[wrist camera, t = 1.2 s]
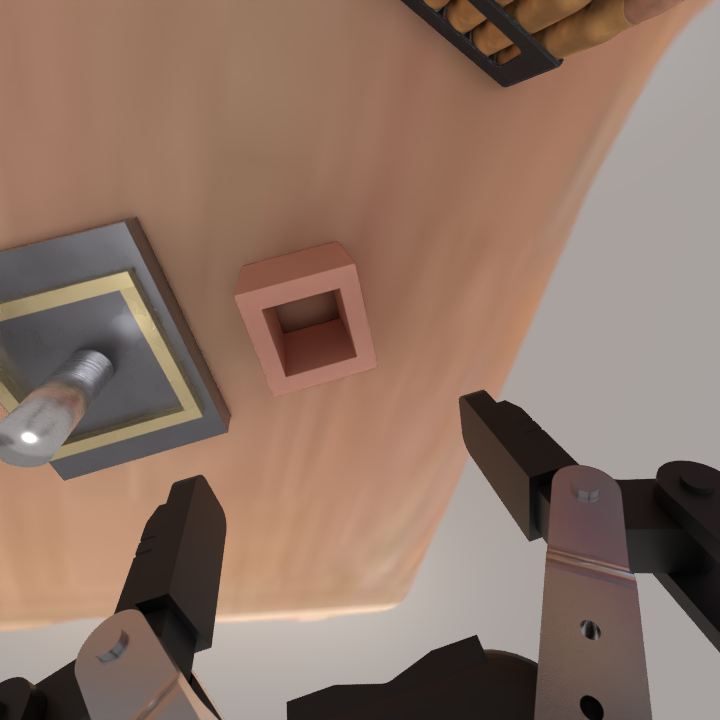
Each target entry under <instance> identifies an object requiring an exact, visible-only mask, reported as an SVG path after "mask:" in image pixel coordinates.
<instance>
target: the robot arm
mask: <svg viewBox="0 0 720 720" xmlns="http://www.w3.org/2000/svg"><path fill="white" fill-rule="evenodd" d="M459 407H460V416H461V425H462V434H463V439H464V442H465V445H466V448H467V450H468V452H469V453H470V455H471V457H472V458H473V459H474V461H475V462H476V464H477V465H478V467H479V468H480V469H481V471H482V473H483V474H484V476H485V477H486V479H487V480H488V482H489V483H490V484H491V486H492V487H493V489H494V490H495V492H496V493H497V495H498V496H499V498H500V499H501V501H502V502H503V504H504V505H505V507H506V508H507V509H508V511H509V512H510V514H511V515H512V517H513V518H514V520H515V521H516V523H517V524H518V526H519V527H520V529H521V530H522V532H523V533H524V535H525V536H526V538H527V539H528V540H529V541H532V540H535V539H538V538H541V537H543V539H544V540H545V542H546V543H547V544H548V546H547V553H546V564H545V578H544V592H543V605H542V619H541V633H540V646H539V660H538V663H536V662H534V661H532V660H530V659H528V658H525V657H523V656H520V655H518V654H514V653H510V652H506V651H501V650H492V649H490V650H483V648H482V646H481V644H480V641H479V639H478V636H477V635H475V636H472V637H469V638H466V639H463V640H461V641H458V642H455V643H452V644H449V645H446V646H444V647H441V648H438V649H435V650H432V651H430V652H429V653H428V654H426V655H425V656H424V657H423V658H421V659H420V660H419V661H417V662H416V663H414V664H413V665H412V666H411V667H409V668H408V669H406V670H405V671H404V672H402V673H401V674H399V675H398V676H397V677H395V678H394V679H393V680H391V681H390V682H388V683H384V684H355V685H333V686H331V687H328V688H325V689H322V690H319V691H316V692H313V693H311V694H308V695H305V696H302V697H299V698H297V699H294V700H291V701H288V702H287V720H652V712H651V703H650V694H649V685H648V677H647V668H646V659H645V651H644V642H643V633H642V625H641V616H640V607H639V598H638V590H637V583H636V578H635V575H634V573H653V575H654V576H655V577H656V578H657V579H658V580H659V582H660V583H661V584H662V585H663V586H664V588H665V589H666V590H667V591H668V592H669V593H670V595H671V596H672V597H673V598H674V599H675V601H676V602H677V603H678V604H679V605H680V606H681V608H682V609H683V610H684V611H685V612H686V613H687V615H688V616H689V617H690V618H691V619H692V621H693V622H695V624H696V625H697V626H698V628H699V629H700V630H701V631H702V632H703V633H704V635H705V636H706V637H707V638H708V639H709V641H710V642H712V644H713V645H714V646H715V647H716V649H717V650H718V651H719V652H720V471H718V470H716V469H714V468H712V467H709V466H707V465H704V464H701V463H696V462H691V461H673V462H668V463H665V464H664V465H662V466H661V467H660V468H659V469H658V472H657V475H656V479H634V480H616V479H613V478H612V477H611V476H609V475H608V474H606V473H605V472H603V471H601V470H599V469H596V468H593V467H589V466H583V465H579V464H578V463H577V462H576V461H575V460H574V459H573V458H572V457H571V456H570V455H569V454H568V453H567V452H566V451H565V450H563V448H562V447H561V446H559V445H558V444H557V443H556V442H555V441H554V440H553V439H552V438H551V437H550V436H549V435H548V434H547V433H546V432H545V431H544V430H542V429H541V427H540V426H539V425H538V424H537V423H536V422H535V421H533V420H532V418H531V417H530V416H529V415H528V414H527V413H526V412H525V411H524V410H523V409H522V408H520V407H518V406H516V405H514V404H512V403H510V402H507V401H506V400H505V401H502V402H498V403H496V401H495V400H494V399H493V398H492V397H491V396H490V395H489V394H488V393H487V392H486V391H485V390H480V391H477V392H474V393H470V394H467V395H464V396H461V397H460V398H459ZM225 537H226V518H225V514H224V511H223V509H222V507H221V505H220V503H219V501H218V500H217V498H216V496H215V494H214V493H213V491H212V489H211V487H210V486H209V484H208V482H207V480H206V479H205V477H204V476H203V475H197V476H194V477H191V478H187V479H184V480H181V481H177V482H175V483H174V484H173V485H172V487H171V490H170V494H169V497H168V500H167V503H166V504H163V505H160V506H158V508H157V509H156V510H155V512H154V513H153V515H152V516H151V517H150V519H149V520H148V521H147V523H146V525H145V528H144V531H143V534H142V537H141V543H139V545H138V548H137V551H136V554H135V555H136V557H135V558H134V559H133V562H132V565H131V568H130V571H129V573H128V576H127V579H126V582H125V585H124V588H123V590H122V593H121V596H120V599H119V602H118V604H117V607H116V610H115V613H114V615H112V616H111V617H109V618H108V619H106V620H105V621H104V622H102V623H101V624H100V625H99V626H98V627H97V628H96V629H95V630H94V631H93V632H92V633H91V634H90V636H89V637H88V638H87V640H86V641H85V643H84V644H83V646H82V647H81V649H80V651H79V653H78V656H77V659H75V660H74V661H72V662H71V663H69V664H67V665H66V666H64V667H63V668H61V669H60V670H58V671H56V672H55V673H53V674H52V675H50V676H48V677H47V678H45V679H44V680H42V681H41V682H39V683H37V684H36V685H33V684H32V683H30V682H29V681H28V680H26V679H24V678H22V677H15V678H11V679H8V680H5V681H3V682H1V683H0V720H225V719H224V718H223V716H222V715H221V713H220V711H219V710H218V708H217V707H216V705H215V704H214V702H213V700H212V699H211V697H210V696H209V694H208V693H207V691H206V690H205V688H204V687H203V685H202V683H201V682H200V681H199V679H198V677H197V676H196V674H195V673H194V672H193V670H192V664H193V659H194V653H196V652H199V651H202V650H205V649H208V648H211V646H212V638H213V630H214V623H215V615H216V607H217V599H218V591H219V584H220V576H221V568H222V560H223V553H224V545H225Z"/></svg>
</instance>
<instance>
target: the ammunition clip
mask: <svg viewBox="0 0 720 720" xmlns="http://www.w3.org/2000/svg"><path fill="white" fill-rule="evenodd" d="M401 1H402V2H404V3H405V4H406V5H407V6H408V7H409V8H411V9H412V10H413V11H414V12H415V13H416V14H418V15H419V16H420V17H421V18H422V19H424V20H425V21H426V22H427V23H428V24H429V25H431V26H432V27H433V28H434V29H435V30H436V31H438V32H439V33H440V34H441V35H442V36H444V37H445V38H446V39H447V40H448V41H449V42H451V43H452V44H453V45H454V46H455V47H456V48H458V49H459V50H460V51H461V52H462V53H464V54H465V55H466V56H467V57H468V58H469V59H471V60H472V61H473V62H474V63H475V64H476V65H478V66H479V67H480V68H481V69H482V70H484V71H485V72H486V73H487V74H488V75H489V76H491V77H492V78H493V79H494V80H495V81H497V82H498V83H499V84H500V85H501V86H502V87H509V86H511V85H514V84H516V83H519V82H522V81H524V80H527V79H529V78H532V77H534V76H537V75H540V74H542V73H545V72H547V71H550V70H552V69H555V68H557V67H559V66H560V65H561V64H562V62H563V60H564V59H563V57H566V56H569V55H572V54H574V53H577V52H580V51H582V50H585V49H588V48H591V47H593V46H596V45H599V44H601V43H604V42H606V41H608V40H610V39H611V38H613V37H614V36H616V35H617V34H619V33H620V32H622V31H623V30H626V29H628V28H630V27H633V26H635V25H637V24H639V23H640V22H642V21H644V20H647V19H649V18H652V17H654V16H656V15H659V14H661V13H663V12H665V11H666V10H668V9H670V8H672V7H674V6H676V5H677V4H679V3H681V2H682V1H684V0H401ZM561 58H562V59H561ZM558 59H560V60H558ZM557 60H558V61H557Z"/></svg>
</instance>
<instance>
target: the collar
mask: <svg viewBox="0 0 720 720" xmlns="http://www.w3.org/2000/svg"><path fill="white" fill-rule="evenodd" d="M331 290H333V291H334V295H335V299H336V303H337V307H338V311H339V315H340V318H339V319H335V320H332V321H328V322H325V323H321V324H317V325H314V326H310V327H307V328H303V329H300V330H296V331H292V332H289V333H285V334H283V331H282V329H281V326H280V323H279V320H278V317H277V314H276V311H275V308H274V306H277V305H280V304H284V303H288V302H291V301H295V300H298V299H302V298H306V297H309V296H313V295H317V294H320V293H324V292H328V291H331ZM234 298H235V300H236V303H237V305H238V308H239V311H240V313H241V316H242V318H243V321H244V323H245V326H246V328H247V331H248V333H249V336H250V338H251V341H252V343H253V346H254V349H255V351H256V354H257V356H258V359H259V361H260V364H261V366H262V369H263V371H264V374H265V376H266V379H267V382H268V384H269V387H270V389H271V392H272V394H273V397H277V396H281V395H284V394H288V393H291V392H295V391H298V390H301V389H305V388H308V387H312V386H315V385H319V384H322V383H325V382H329V381H332V380H336V379H339V378H343V377H346V376H349V375H353V374H356V373H360V372H363V371H367V370H370V369H373V368H377V367H378V365H377V360H376V356H375V351H374V347H373V342H372V338H371V333H370V329H369V324H368V320H367V315H366V311H365V306H364V302H363V297H362V292H361V288H360V283H359V279H358V274H357V270H356V265H355V263H354V261H353V260H352V259H351V258H350V256H349V255H348V254H347V253H346V252H345V250H344V249H343V248H342V247H341V245H340V244H339V243H338V242H337V241H336V242H332V243H328V244H324V245H321V246H317V247H313V248H309V249H306V250H302V251H298V252H294V253H290V254H287V255H283V256H279V257H275V258H271V259H268V260H264V261H260V262H256V263H253V264H249V265H245V266H242V270H241V273H240V276H239V280H238V283H237V287H236V290H235V294H234Z"/></svg>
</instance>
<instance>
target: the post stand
mask: <svg viewBox="0 0 720 720" xmlns="http://www.w3.org/2000/svg"><path fill="white" fill-rule="evenodd" d="M0 404H1V405H2V406H3V408H4V409H5V410H6V411H7V412H8V414H9V415H8V416H7V417H5V418H4V419H3V420H2V421H1V422H0V460H2V461H4V462H6V463H8V464H11V465H14V466H18V467H36V466H40V465H43V464H45V463H47V462H49V463H50V464H51V465H52V467H53V468H54V469H55V470H56V471H57V473H58V474H59V475H60V476H61V477H62V479H63V480H64V481H65V480H68V479H71V478H75V477H78V476H81V475H85V474H88V473H92V472H95V471H98V470H102V469H105V468H109V467H112V466H115V465H119V464H122V463H125V462H129V461H132V460H136V459H139V458H142V457H146V456H149V455H152V454H156V453H159V452H163V451H166V450H169V449H173V448H176V447H180V446H183V445H186V444H190V443H193V442H196V441H200V440H203V439H207V438H210V437H213V436H217V435H220V434H224V433H227V432H228V429H229V423H230V417H231V415H230V413H229V411H228V409H227V407H226V404H225V402H224V400H223V398H222V396H221V394H220V392H219V390H218V388H217V385H216V383H215V381H214V379H213V377H212V375H211V373H210V371H209V369H208V366H207V364H206V362H205V360H204V358H203V356H202V354H201V352H200V350H199V348H198V345H197V343H196V341H195V339H194V337H193V335H192V333H191V331H190V329H189V326H188V324H187V322H186V320H185V318H184V316H183V314H182V312H181V310H180V308H179V305H178V303H177V301H176V299H175V297H174V295H173V293H172V291H171V289H170V286H169V284H168V282H167V280H166V278H165V276H164V274H163V272H162V270H161V267H160V265H159V263H158V261H157V259H156V257H155V255H154V253H153V251H152V249H151V246H150V244H149V242H148V240H147V238H146V236H145V234H144V232H143V230H142V227H141V225H140V223H139V221H138V219H137V217H135V218H131V219H127V220H123V221H119V222H115V223H111V224H107V225H103V226H99V227H95V228H91V229H87V230H83V231H79V232H75V233H71V234H67V235H63V236H59V237H55V238H51V239H47V240H43V241H39V242H35V243H31V244H27V245H23V246H19V247H15V248H11V249H7V250H3V251H0Z"/></svg>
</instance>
